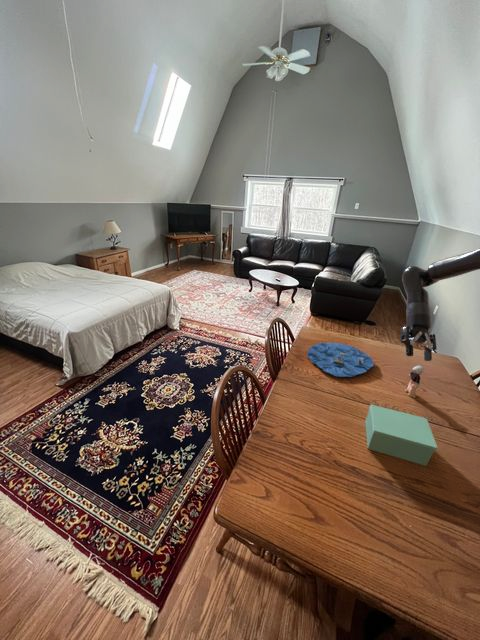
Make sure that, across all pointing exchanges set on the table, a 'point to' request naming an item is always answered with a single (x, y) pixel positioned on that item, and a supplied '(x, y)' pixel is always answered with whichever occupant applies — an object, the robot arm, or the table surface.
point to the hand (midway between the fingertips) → (419, 358)
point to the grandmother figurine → (414, 381)
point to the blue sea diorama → (339, 359)
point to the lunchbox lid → (402, 426)
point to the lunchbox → (396, 446)
